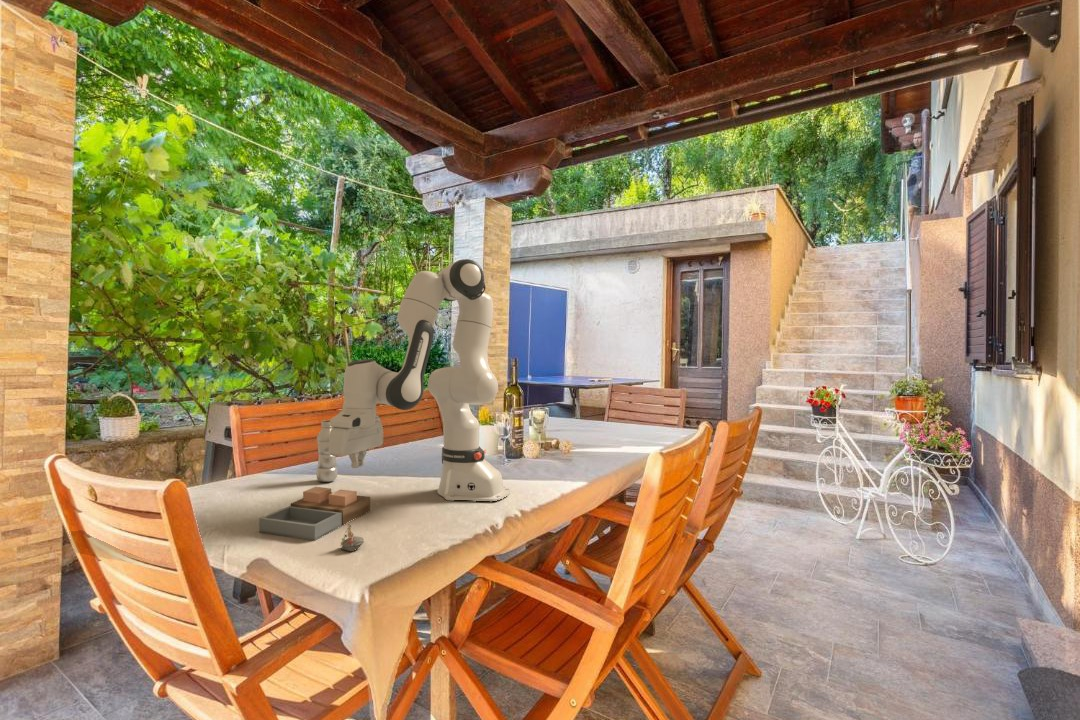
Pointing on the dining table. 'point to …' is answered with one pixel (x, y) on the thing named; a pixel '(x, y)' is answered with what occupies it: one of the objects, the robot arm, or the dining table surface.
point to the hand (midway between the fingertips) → (357, 467)
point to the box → (300, 523)
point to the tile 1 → (316, 494)
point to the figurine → (351, 541)
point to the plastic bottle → (325, 455)
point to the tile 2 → (342, 497)
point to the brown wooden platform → (339, 507)
